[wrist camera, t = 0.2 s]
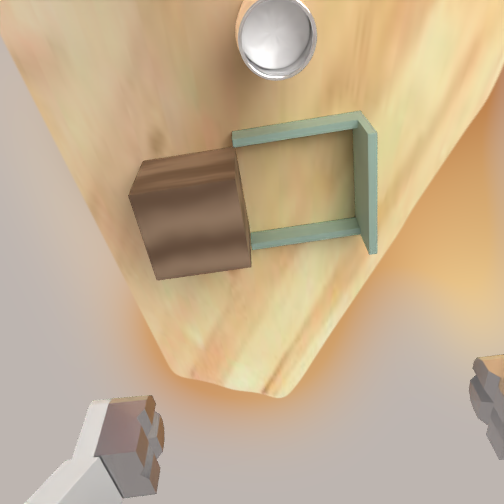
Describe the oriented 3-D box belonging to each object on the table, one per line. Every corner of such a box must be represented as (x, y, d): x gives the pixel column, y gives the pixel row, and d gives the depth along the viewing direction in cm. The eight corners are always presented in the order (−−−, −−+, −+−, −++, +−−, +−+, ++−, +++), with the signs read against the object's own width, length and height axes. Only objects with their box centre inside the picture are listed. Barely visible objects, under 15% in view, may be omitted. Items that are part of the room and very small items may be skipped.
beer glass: (266, 64, 53) (276, 100, 40) (221, 18, 50) (217, 41, 37) (311, 15, 50) (337, 37, 37) (266, -37, 47) (278, -32, 35)
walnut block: (143, 160, 59) (128, 195, 50) (234, 146, 58) (234, 179, 50) (166, 238, 65) (157, 280, 57) (249, 226, 65) (251, 267, 56)
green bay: (232, 131, 57) (231, 155, 50) (360, 110, 56) (377, 132, 49) (251, 238, 66) (253, 271, 59) (362, 222, 65) (377, 253, 58)
